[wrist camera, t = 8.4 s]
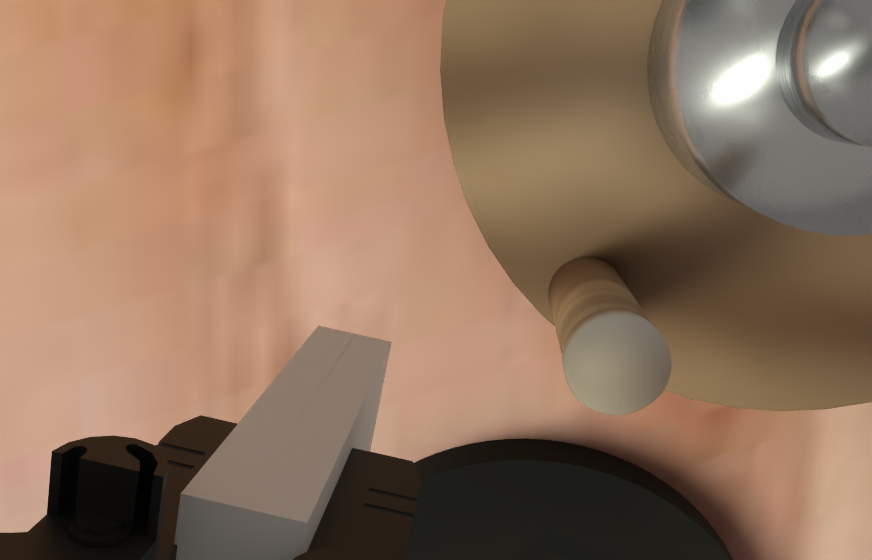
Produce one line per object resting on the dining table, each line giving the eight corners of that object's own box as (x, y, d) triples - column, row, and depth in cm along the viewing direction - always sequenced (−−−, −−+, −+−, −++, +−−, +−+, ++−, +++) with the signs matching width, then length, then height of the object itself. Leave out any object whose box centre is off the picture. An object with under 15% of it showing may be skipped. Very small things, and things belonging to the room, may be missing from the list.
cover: (633, -78, 21) (684, -142, 15) (970, -139, 20) (1159, -231, 14) (659, 229, 23) (713, 275, 18) (965, 188, 22) (1130, 223, 17)
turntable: (393, -260, 22) (335, -457, 14) (1214, -433, 20) (1702, -790, 12) (491, 422, 27) (488, 559, 19) (1152, 354, 25) (1463, 478, 17)
